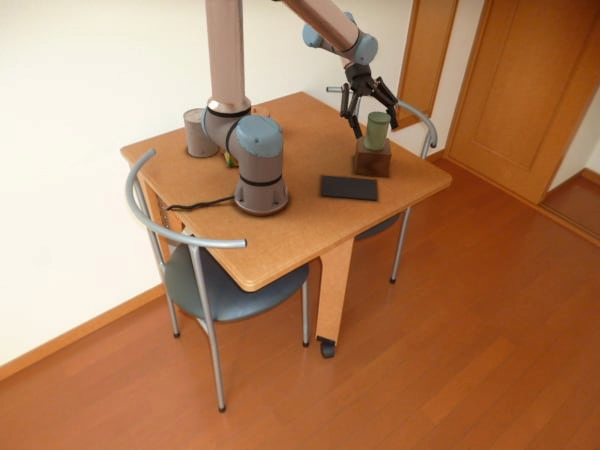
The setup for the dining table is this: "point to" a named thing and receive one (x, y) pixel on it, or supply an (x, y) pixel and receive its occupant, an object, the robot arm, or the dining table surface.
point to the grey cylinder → (197, 134)
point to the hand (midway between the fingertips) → (377, 133)
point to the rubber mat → (349, 188)
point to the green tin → (376, 130)
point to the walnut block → (372, 159)
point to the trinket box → (260, 111)
